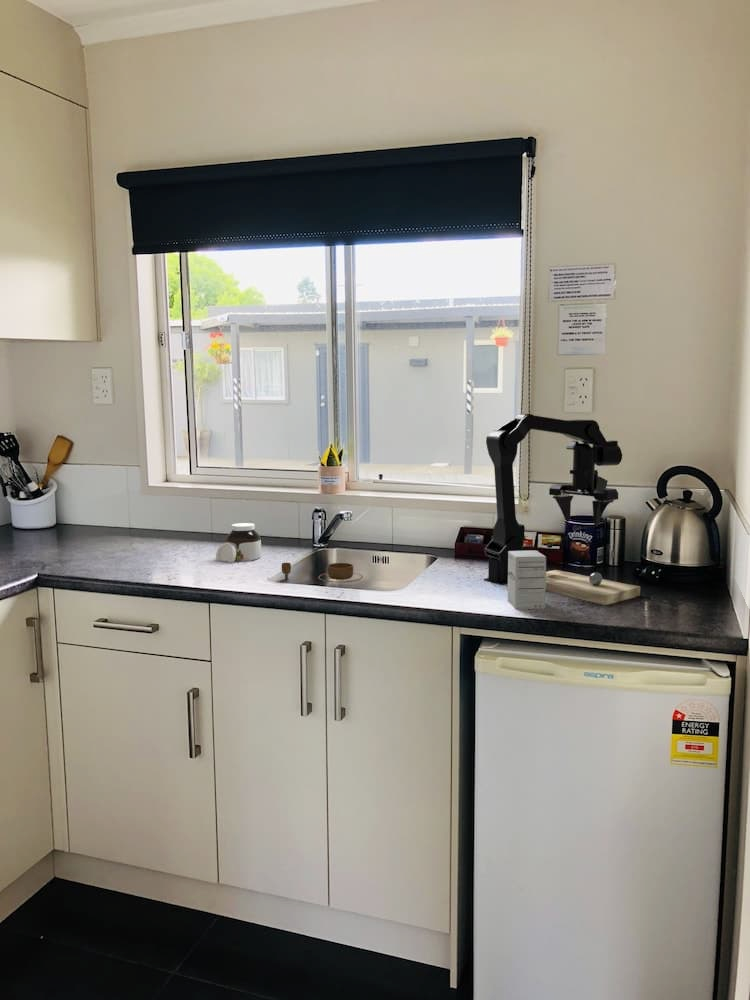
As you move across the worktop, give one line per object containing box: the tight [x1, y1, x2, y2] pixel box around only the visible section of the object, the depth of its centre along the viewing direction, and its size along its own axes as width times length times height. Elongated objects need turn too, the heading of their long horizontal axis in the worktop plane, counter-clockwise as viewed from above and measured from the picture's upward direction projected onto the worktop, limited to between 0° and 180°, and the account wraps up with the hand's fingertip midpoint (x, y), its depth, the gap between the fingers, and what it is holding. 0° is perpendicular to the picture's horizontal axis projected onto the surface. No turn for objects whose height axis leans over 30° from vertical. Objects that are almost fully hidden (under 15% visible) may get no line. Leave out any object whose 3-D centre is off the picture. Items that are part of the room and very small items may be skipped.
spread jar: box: [215, 522, 262, 564], centre depth 245 cm, size 12×11×12 cm
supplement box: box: [507, 549, 547, 610], centre depth 194 cm, size 7×7×13 cm
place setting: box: [281, 562, 364, 583], centre depth 223 cm, size 18×20×6 cm
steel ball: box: [589, 572, 603, 585], centre depth 204 cm, size 3×3×3 cm
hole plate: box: [545, 569, 641, 606], centre depth 208 cm, size 14×26×2 cm, turn 39°
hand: (581, 523), depth 225 cm, fingers open, 9 cm apart
